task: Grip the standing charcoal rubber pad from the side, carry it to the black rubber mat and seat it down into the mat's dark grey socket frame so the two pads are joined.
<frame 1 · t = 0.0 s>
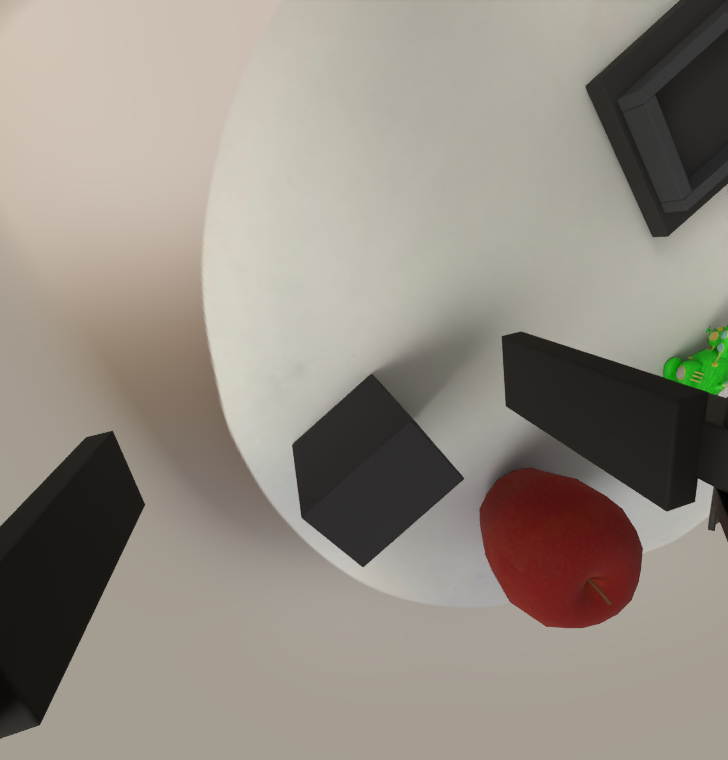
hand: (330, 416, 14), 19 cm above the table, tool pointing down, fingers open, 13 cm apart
pad block: (354, 431, 35), on the table
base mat: (687, 108, 33), on the table
apple: (506, 495, 41), on the table
crocodile figurine: (668, 396, 42), on the table
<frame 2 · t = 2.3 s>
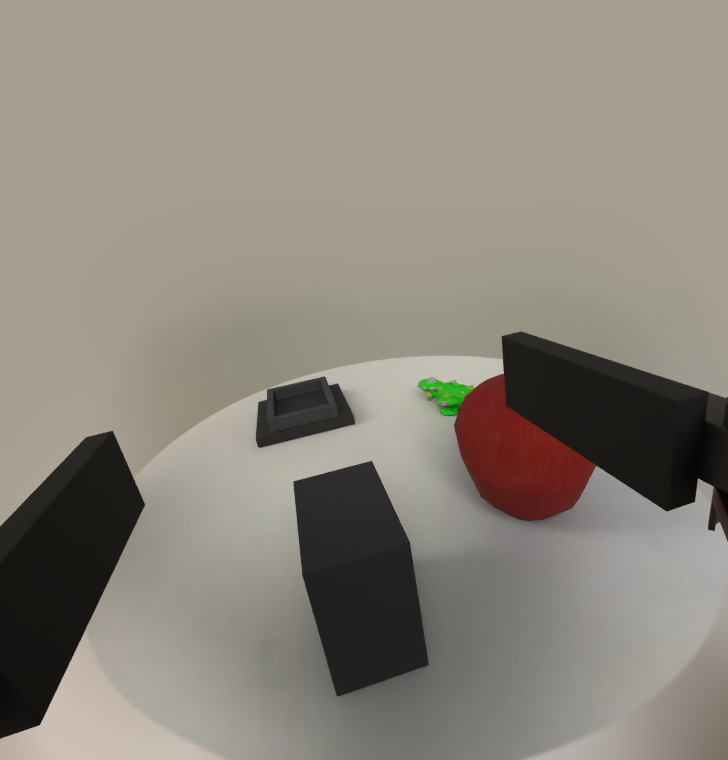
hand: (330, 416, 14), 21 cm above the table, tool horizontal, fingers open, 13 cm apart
pad block: (367, 618, 29), on the table
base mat: (303, 416, 64), on the table
apple: (526, 505, 38), on the table
crocodile figurine: (472, 413, 56), on the table
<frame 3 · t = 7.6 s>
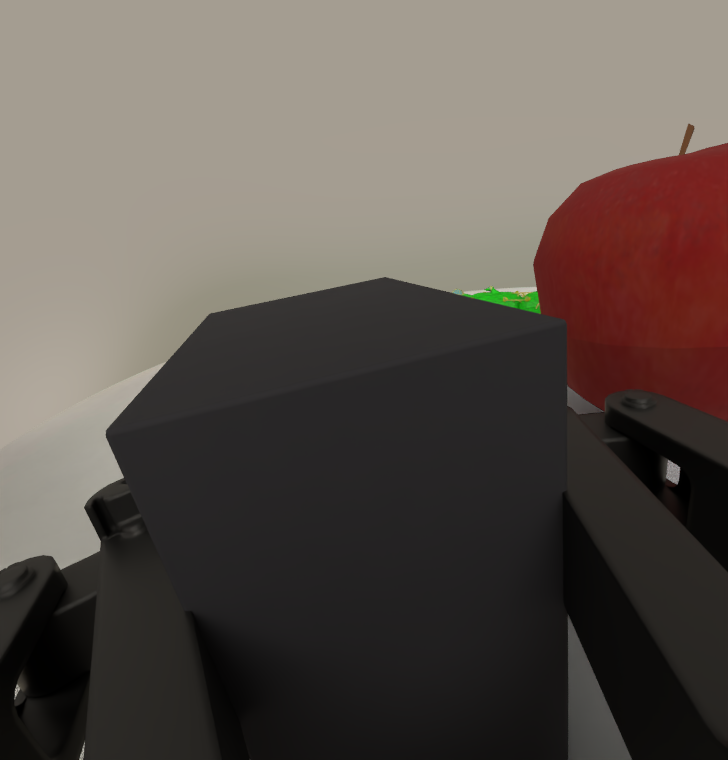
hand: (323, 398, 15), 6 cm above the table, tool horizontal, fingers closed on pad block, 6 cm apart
pad block: (384, 629, 13), on the table, touching gripper
apple: (659, 418, 21), on the table
crocodile figurine: (519, 330, 40), on the table
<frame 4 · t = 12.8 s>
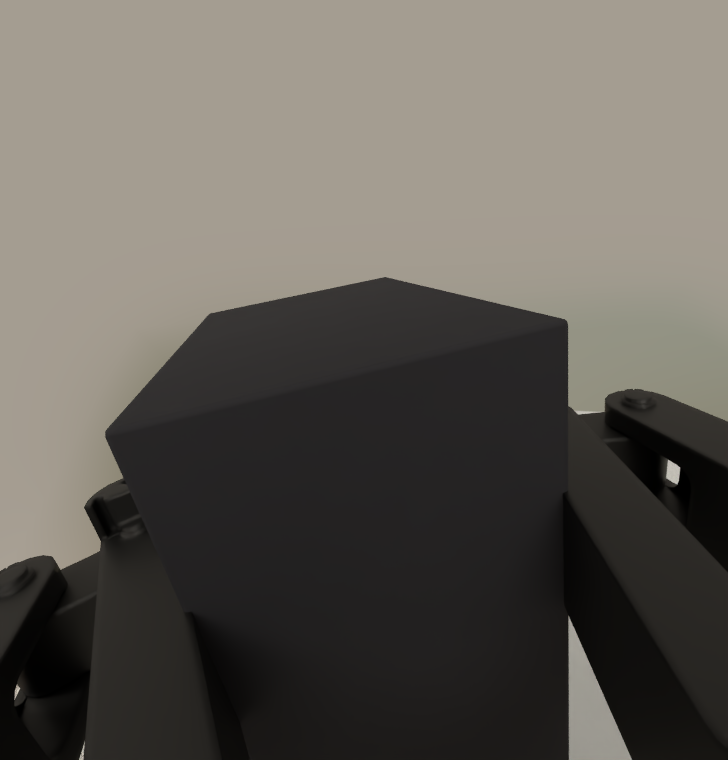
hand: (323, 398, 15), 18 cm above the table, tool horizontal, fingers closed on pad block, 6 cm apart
pad block: (384, 629, 13), point 12 cm above the table, touching gripper
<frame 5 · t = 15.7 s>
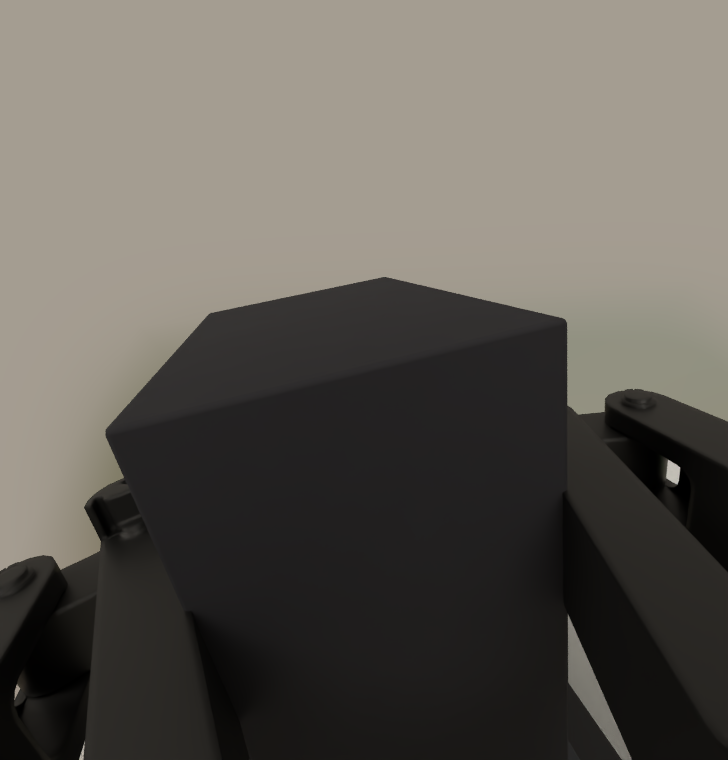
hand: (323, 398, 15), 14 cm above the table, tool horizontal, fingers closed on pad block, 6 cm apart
pad block: (384, 628, 13), point 8 cm above the table, touching gripper
when the fingers open (7 cm above the table, at t = 17.9 s): pad block stays where it is, resting on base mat.
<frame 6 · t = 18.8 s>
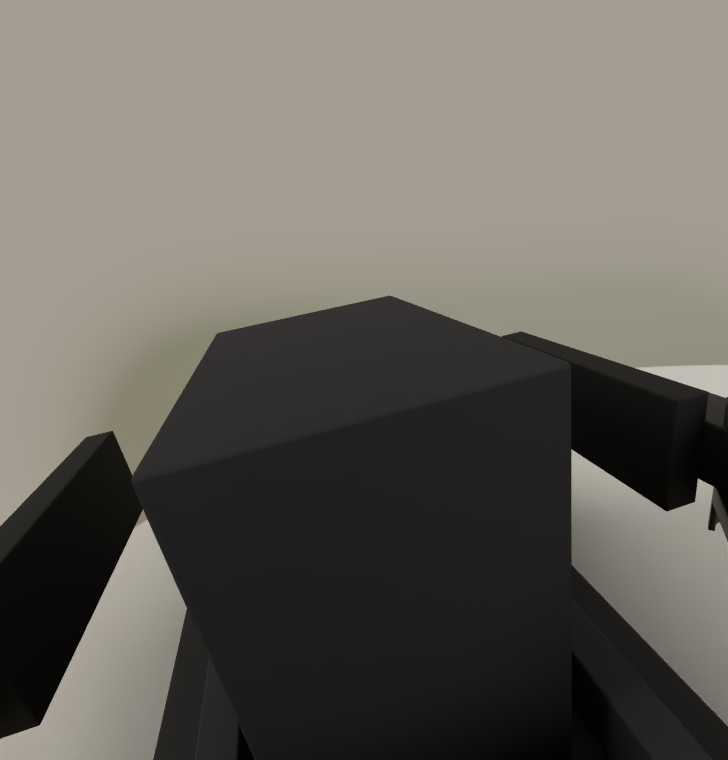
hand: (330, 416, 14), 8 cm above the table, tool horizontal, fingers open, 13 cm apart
pad block: (390, 643, 13), point 1 cm above the table, touching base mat
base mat: (395, 675, 13), on the table
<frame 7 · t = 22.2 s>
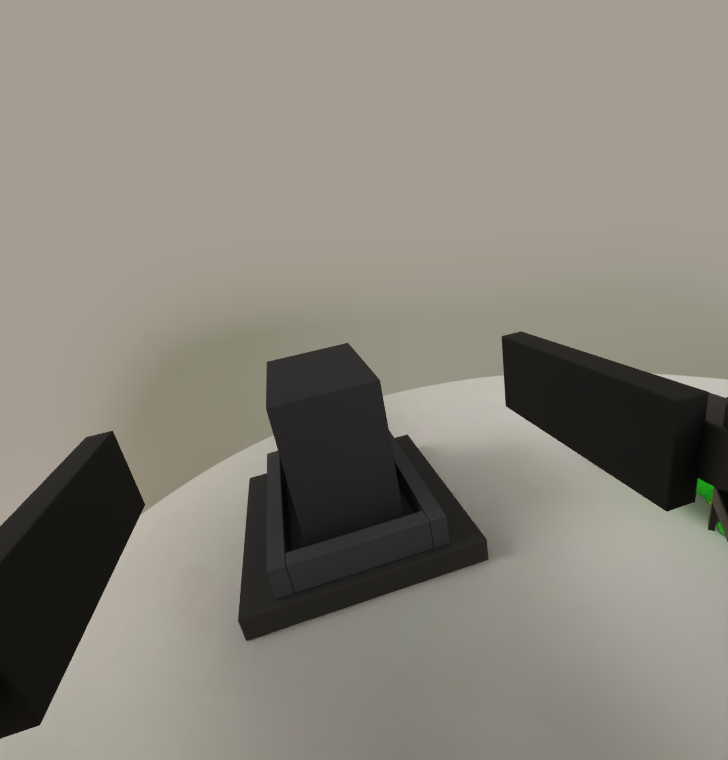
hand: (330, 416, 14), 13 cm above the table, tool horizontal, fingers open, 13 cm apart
pad block: (346, 502, 28), point 1 cm above the table, touching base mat
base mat: (349, 519, 29), on the table
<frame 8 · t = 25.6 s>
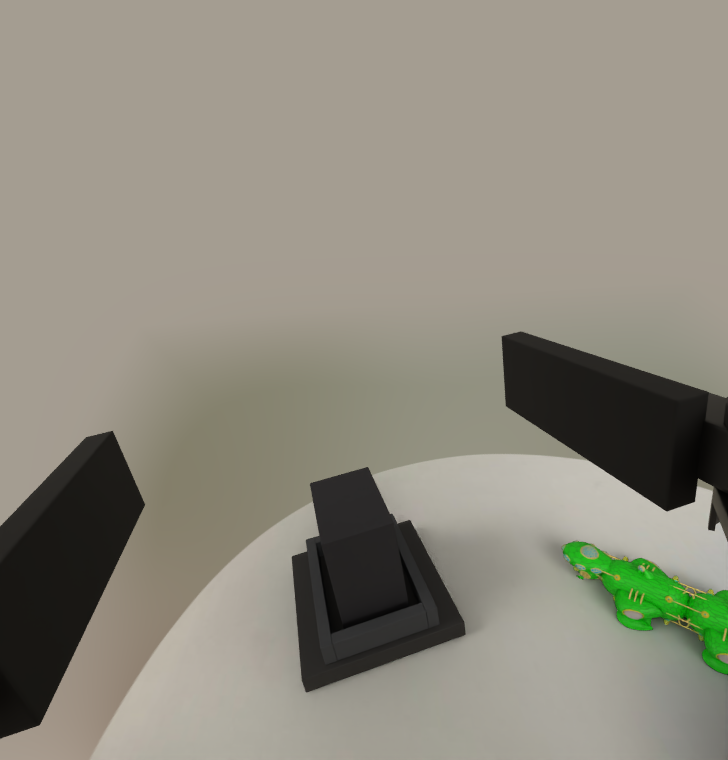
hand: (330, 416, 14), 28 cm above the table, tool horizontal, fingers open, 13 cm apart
pad block: (366, 584, 40), point 1 cm above the table, touching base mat
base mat: (368, 595, 40), on the table
crocodile figurine: (678, 625, 33), on the table
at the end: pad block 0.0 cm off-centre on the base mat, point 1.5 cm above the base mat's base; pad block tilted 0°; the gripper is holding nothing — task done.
